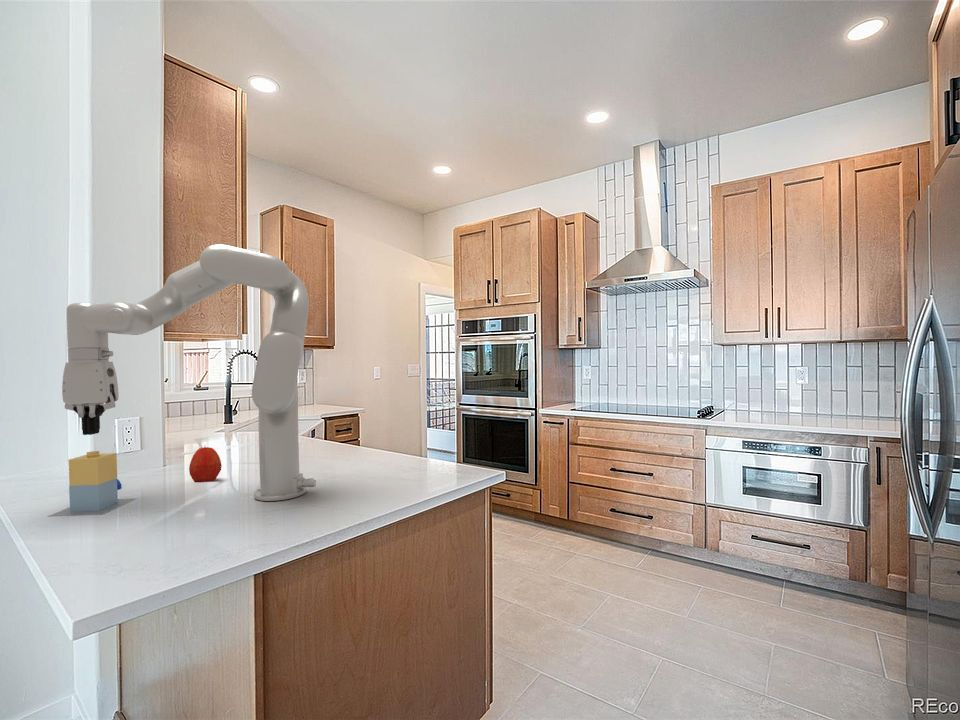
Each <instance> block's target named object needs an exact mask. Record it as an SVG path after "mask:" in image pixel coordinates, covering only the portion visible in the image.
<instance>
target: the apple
mask: <svg viewBox="0 0 960 720" xmlns="http://www.w3.org/2000/svg"><path fill="white" fill-rule="evenodd" d="M222 466H223V465H222V460H221V456H220V455H219V453H218V452H217V451H216V449H215V448H213V447H209V446H204V447H199V448H198V449H196V451H194V454H193V455H192V457H191V461H190V463H189V467H188V470H189V476H190V477H191V479H192V480H193V482H194V483H212V482H214V481H216V480H217V478H218V476H219V474H220V473H221V471H222Z"/></svg>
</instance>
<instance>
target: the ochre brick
mask: <svg viewBox="0 0 960 720" xmlns="http://www.w3.org/2000/svg"><path fill="white" fill-rule="evenodd" d="M117 458H118V456H117V452H112V453H111V452H110V453H108V452H105V453H104V452H103V453H100V450H93V451H87V452H86V454H84V455H80V456H77V457H73V458H70V459H68V482H69V484H68V487H69V486H77V485H99V484H102V483H104V482H107V481H110V480H112V479H115V478H117V479H118V463H117V461H118V459H117Z"/></svg>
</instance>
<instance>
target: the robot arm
mask: <svg viewBox="0 0 960 720" xmlns="http://www.w3.org/2000/svg"><path fill="white" fill-rule="evenodd" d="M234 284H238V285H241V286H247V287H252V288H256V289H260V290H262V291H264V292H266V293H267V294H269V295H271V296H272V297H273V299H274V308H273V310H272V311H273V313H272V315H271V316H272V317H271V318H272V319H271V324H270V330H269V333H268V334H266V335H265V336H264V337H263V339H262V341H261V342H260V345H259V349H258V353H257V357H256V365H255V369H254V370H255V371H254V376H253V382H252V387H251V397H252V398H251V399H252V401H253V403H254V405H255V407H256V408H258V454H259V455H258V456H259V459H258V460H259V488H258V489H256V490H255V491H254V492H253V498H254V499H255V500H256V501H260V502H261V501H263V502H275V501H276V502H277V501H284V500H290V499H293V498H294V499H295V498H297V497H300V496H302V495H304V494H305V493H306V492H307V488H315V487H316V486H317V480H316V479H314V477H313V478H311V477H310V478H305V477H304V473H300V447H299V446H300V443H299V442H300V441H299V389H298V385H297V380H298V373H299V367H300V364H301V363H300V361H301V360H302V358H303V355H304V350H305V349H304V347H305V346H304V344H305V338H306V331H307V324H308V318H309V317H308V316H309V311H310V297H309V293H308V290H307V288H306V286H305V284H304V282H303V281H302V280H301V278H300V277H299V276H298V275H296V273H294V272H293V271H292V270H291V269H290V268H289V266H288V265H287V264H286V263H285V261H284V260H282V259H280V258H279V257H277V256H274V255H270V254H267V253H263V252H258V251H253V250H249V249H245V248H241V247H237V246H233V245H229V244H223V243H216V244H211V245H209V246H207V247H206V248H204V249H203V250H202V252H201V254H200V256H199V260H197V261H195V262H194V263H192V264H189V265H187V266H185V267H183V268H181V269H179V270H176V271H174V272H172V273H171V274H169V276H168V277H167V278H166V281H165V282H164V285H163V286H162V287H161V289H160V290H158V291H157V292H155V293H154V294H152V295H151V296H149V297H147V298H145V299H143V300H141V301H139V302H137V303H135V304H133V303H127V302H123V301H113V302H105V303H96V302H95V303H93V302H90V303H89V302H74V303H70V304H68V306H67V307H66V336H67V337H66V339H67V342H66V343H67V360H68V361H67V362H65V364H64V369H63V375H62V385H61V390H62V391H61V397H62V402H63V403H64V409H65V410H69V411H74V412H75V413H76V415H78V418H80V419H81V430H82V435H83V436H91V435H96V434H99V433H100V429H101V420H100V419H101V418H100V417H101V416H103V413H105V411H107V410H111V409H115V408H116V406H117V405H116V403H115V402H117V401H118V400H119V396H120V395H119V394H120V393H119V383H118V378H117V372H116V368H115V365H114V362H113V361H110V357H113V356H114V351H112V350H110V348H109V334H116V335H125V336H126V335H130V336H131V335H132V336H139V335H143V334H146V333H149V332H150V331H154V330H155V329H157V328H159V327H160V326H162V325H165V324H167V323H168V322H170V321H172V320H173V319H175V318H177V317H178V316H179V315H181V314H182V313H184V312H185V311H187V310H188V309H190V308H191V307H192V306H194V305H196V304H197V303H199V302H201V301H203V300H205V299H207V298H209V297H211V296H212V295H215V294H216V293H218V292H221V291H222V290H225V289H226V288H229V287H231V286H232V285H234Z"/></svg>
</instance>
